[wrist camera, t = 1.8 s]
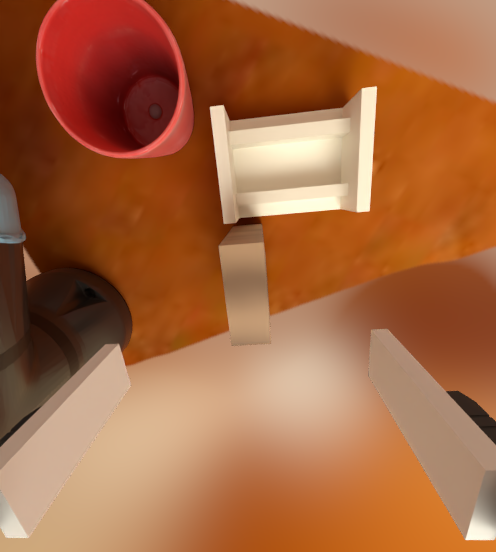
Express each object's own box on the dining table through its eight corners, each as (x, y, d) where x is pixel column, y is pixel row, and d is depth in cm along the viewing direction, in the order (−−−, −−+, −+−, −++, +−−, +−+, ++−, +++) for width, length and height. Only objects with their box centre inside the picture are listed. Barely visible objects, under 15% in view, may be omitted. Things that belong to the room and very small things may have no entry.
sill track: (230, 218, 30) (223, 223, 25) (219, 124, 27) (209, 106, 22) (348, 207, 29) (369, 211, 24) (351, 109, 26) (376, 86, 21)
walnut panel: (267, 291, 33) (271, 343, 22) (240, 293, 33) (231, 345, 22) (262, 223, 30) (264, 242, 19) (232, 226, 31) (217, 246, 19)
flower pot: (132, 31, 25) (58, -64, 16) (227, 97, 26) (210, 46, 17) (95, 133, 28) (15, 104, 19) (182, 187, 29) (147, 185, 20)
